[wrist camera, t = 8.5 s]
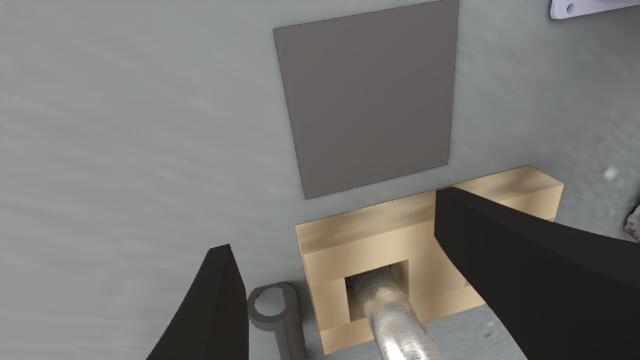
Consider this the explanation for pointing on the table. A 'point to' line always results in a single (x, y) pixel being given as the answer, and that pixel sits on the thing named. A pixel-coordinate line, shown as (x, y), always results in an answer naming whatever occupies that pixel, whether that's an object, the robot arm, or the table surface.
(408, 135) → the mat
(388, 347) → the peg
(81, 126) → the table surface
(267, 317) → the caulking gun
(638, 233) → the mineral rock
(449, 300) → the hole block
